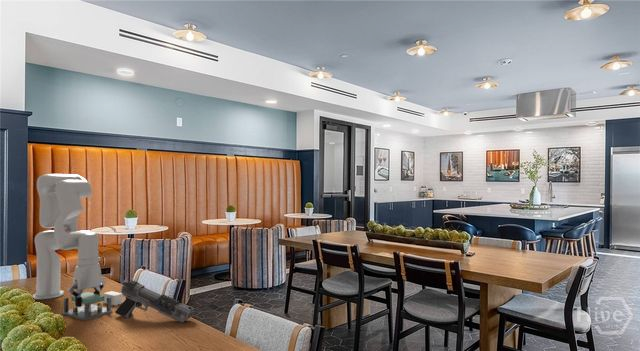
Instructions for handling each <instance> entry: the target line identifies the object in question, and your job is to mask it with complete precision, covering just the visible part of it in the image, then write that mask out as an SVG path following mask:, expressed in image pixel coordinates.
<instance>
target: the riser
mask: <svg viewBox="0 0 640 351" xmlns="http://www.w3.org/2000/svg"><path fill="white" fill-rule="evenodd" d="M102 295H103V296H104V301H102V304H105V303H106V304H105V305H107V297H111V306H113V305H114V307H115V306H118V304H119V305H121V303H123V294H122V293H121V292H117V291H114V290H113V291H112V290H111V291H107V292H104V293H102Z"/></svg>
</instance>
